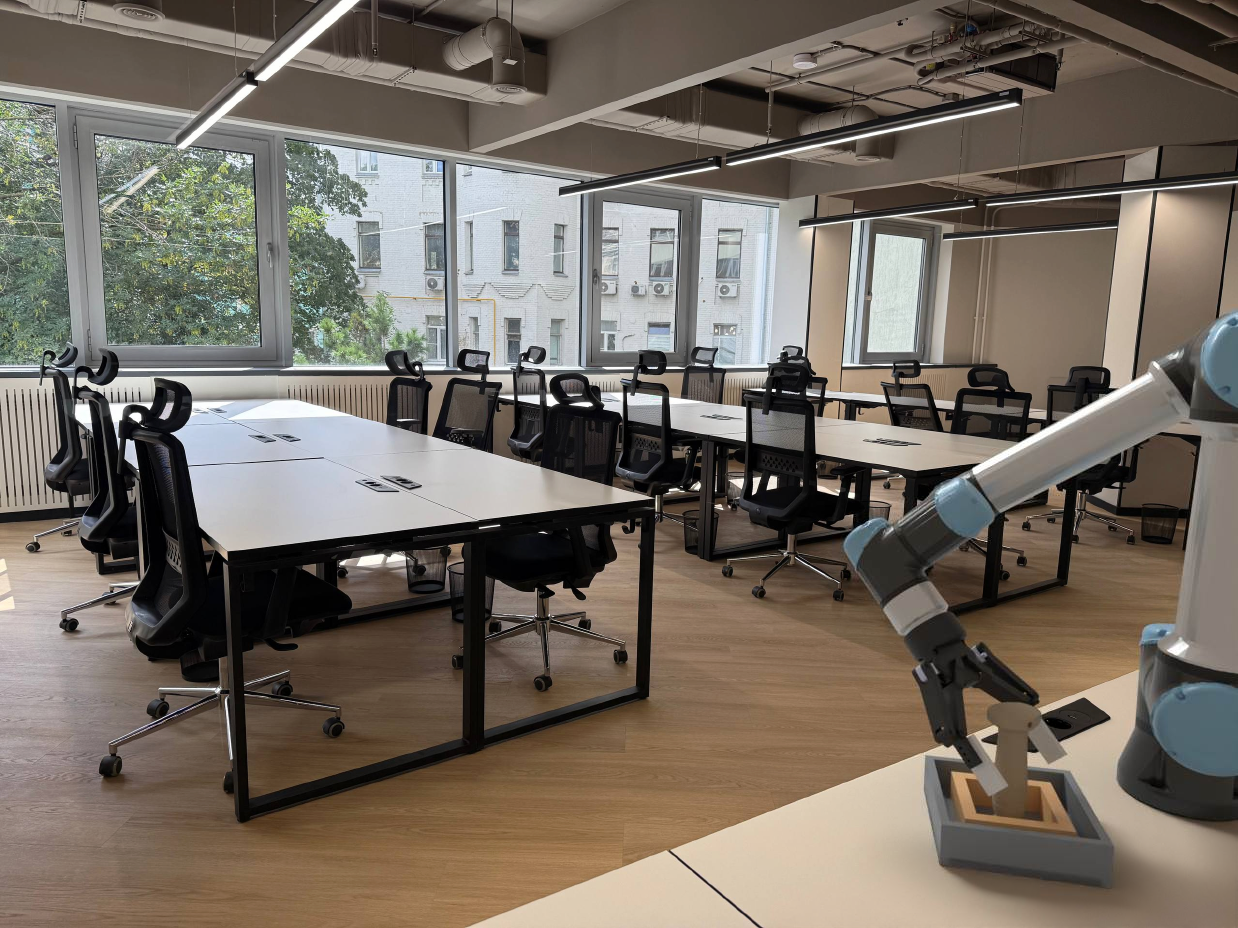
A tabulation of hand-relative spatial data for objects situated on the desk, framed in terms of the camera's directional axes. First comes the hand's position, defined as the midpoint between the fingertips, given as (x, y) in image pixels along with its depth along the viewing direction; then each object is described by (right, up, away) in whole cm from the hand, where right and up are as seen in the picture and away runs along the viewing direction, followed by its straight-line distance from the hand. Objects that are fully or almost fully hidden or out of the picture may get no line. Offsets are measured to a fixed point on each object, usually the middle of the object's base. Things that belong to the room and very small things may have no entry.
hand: (1029, 775), depth 101 cm
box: (-1, -8, +3) cm, 9 cm away
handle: (-1, -8, +3) cm, 8 cm away
